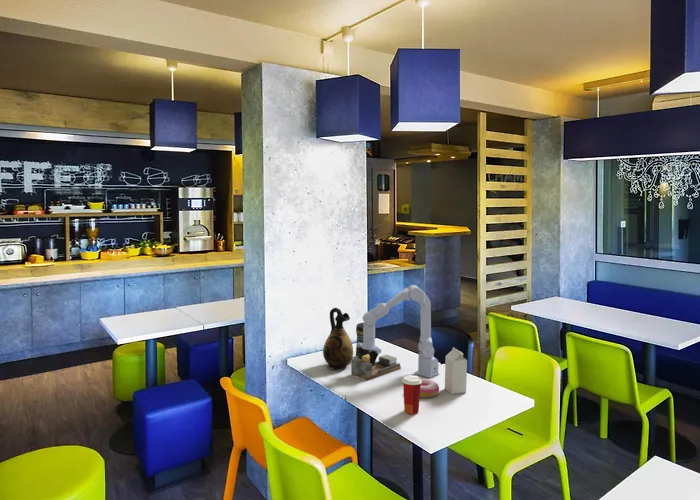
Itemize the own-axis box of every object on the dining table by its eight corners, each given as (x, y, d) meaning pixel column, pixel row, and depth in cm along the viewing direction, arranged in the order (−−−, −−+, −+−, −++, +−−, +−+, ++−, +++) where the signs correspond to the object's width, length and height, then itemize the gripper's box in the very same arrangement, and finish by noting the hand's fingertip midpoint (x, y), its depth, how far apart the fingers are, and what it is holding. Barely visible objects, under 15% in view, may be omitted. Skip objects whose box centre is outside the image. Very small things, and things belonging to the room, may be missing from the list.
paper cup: (419, 407, 211) (420, 374, 210) (422, 415, 204) (423, 381, 202) (400, 407, 211) (400, 374, 209) (402, 415, 203) (403, 381, 202)
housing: (375, 368, 250) (375, 356, 249) (368, 370, 246) (368, 358, 246) (368, 365, 253) (368, 354, 252) (361, 368, 250) (362, 356, 249)
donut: (402, 389, 231) (402, 379, 231) (428, 386, 236) (429, 375, 235) (416, 401, 218) (417, 389, 218) (444, 397, 223) (444, 385, 223)
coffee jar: (353, 356, 277) (353, 323, 276) (363, 353, 283) (364, 320, 281) (365, 361, 270) (365, 326, 268) (376, 358, 276) (376, 324, 274)
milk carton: (451, 394, 226) (452, 352, 224) (444, 388, 232) (445, 347, 230) (466, 392, 227) (467, 351, 225) (458, 387, 234) (459, 346, 232)
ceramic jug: (359, 366, 261) (360, 309, 258) (338, 374, 250) (338, 314, 247) (336, 359, 273) (336, 304, 270) (314, 366, 262) (314, 308, 258)
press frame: (400, 369, 258) (401, 354, 257) (367, 380, 242) (367, 365, 241) (384, 363, 266) (384, 349, 265) (351, 374, 250) (351, 359, 249)
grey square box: (396, 365, 259) (396, 357, 258) (389, 367, 255) (389, 360, 254) (386, 361, 264) (386, 354, 263) (378, 364, 260) (378, 356, 260)
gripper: (352, 335, 251) (352, 362, 252) (374, 341, 240) (373, 370, 242) (362, 333, 255) (362, 359, 257) (384, 339, 245) (384, 366, 246)
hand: (368, 364), depth 250 cm, fingers closed on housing, 4 cm apart
